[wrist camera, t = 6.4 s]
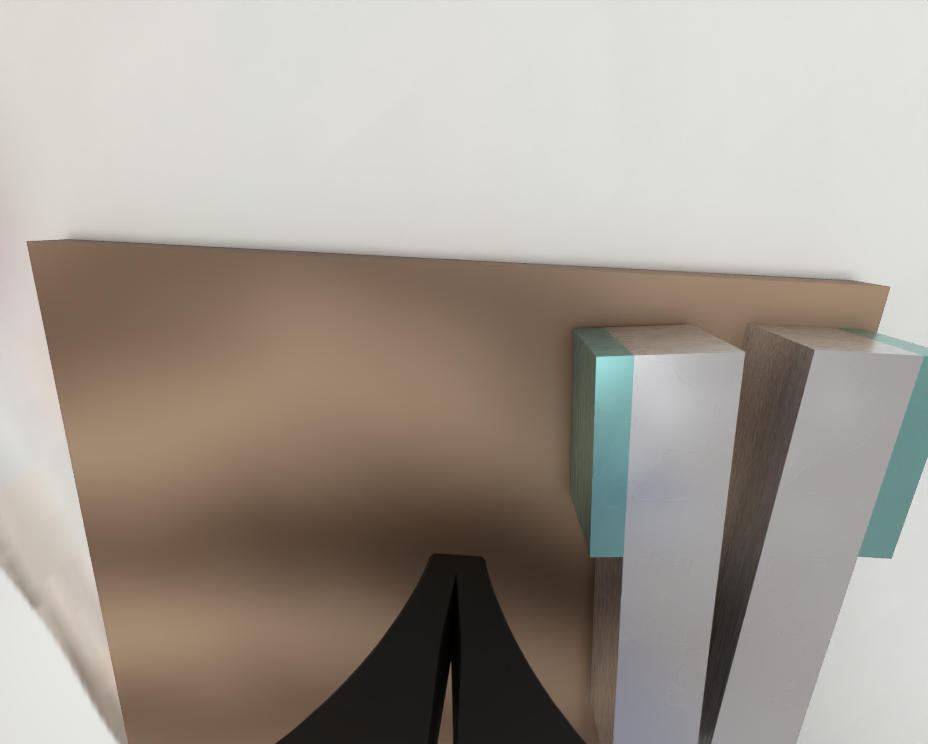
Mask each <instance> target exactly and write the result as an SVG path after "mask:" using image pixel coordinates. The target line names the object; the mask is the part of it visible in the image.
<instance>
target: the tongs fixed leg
mask: <svg viewBox="0 0 928 744" xmlns="http://www.w3.org/2000/svg"><path fill="white" fill-rule="evenodd" d="M742 350H743V351H745V358H744V366H743V374H742V382H741V391H740V399H739V407H738V415H737V424H736V432H735V440H734V448H733V457H732V465H731V473H730V481H729V489H728V498H727V506H726V514H725V522H724V531H723V539H722V547H721V555H720V564H719V572H718V580H717V588H716V597H715V605H714V613H713V621H712V629H711V638H710V646H709V654H708V662H707V671H706V679H705V687H704V695H703V704H702V712H701V720H700V728H699V736H698V744H796V741H797V738H798V735H799V732H800V729H801V726H802V723H803V720H804V717H805V714H806V711H807V708H808V705H809V702H810V699H811V696H812V693H813V690H814V687H815V684H816V681H817V678H818V675H819V672H820V669H821V666H822V663H823V660H824V657H825V654H826V651H827V648H828V645H829V642H830V639H831V636H832V633H833V630H834V627H835V624H836V621H837V618H838V615H839V612H840V609H841V606H842V603H843V600H844V596H845V593H846V590H847V587H848V584H849V581H850V578H851V575H852V572H853V569H854V566H855V563H856V560H857V557H873V558H889V559H891V558H892V556H893V553H894V550H895V547H896V544H897V542H898V539H899V536H900V533H901V530H902V527H903V525H904V522H905V519H906V516H907V513H908V511H909V508H910V505H911V502H912V499H913V496H914V494H915V491H916V488H917V485H918V482H919V480H920V477H921V474H922V471H923V468H924V465H925V463H926V460H927V457H928V348H927V347H923V346H920V345H917V344H913V343H910V342H906V341H903V340H899V339H896V338H892V337H889V336H886V335H882V334H879V333H875V332H872V331H868V330H865V329H849V328H830V327H812V326H794V325H775V324H757V323H747V327H746V331H745V336H744V340H743V345H742Z"/></svg>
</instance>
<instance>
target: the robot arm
mask: <svg viewBox="0 0 928 744" xmlns="http://www.w3.org/2000/svg"><path fill="white" fill-rule="evenodd" d="M450 664H451V679H452V726H453V744H586V742H585V741H584V740H583V739H582V738H581V737H580V735H579V734H578V733H577V732H576V730H575V729H574V728H573V726H572V725H571V724H570V722H569V721H568V720H567V719H566V717H565V716H564V715H563V713H562V712H561V711H560V710H559V708H558V707H557V706H556V704H555V703H554V702H553V700H552V699H551V697H550V696H549V694H548V693H547V691H546V690H545V688H544V687H543V685H542V684H541V683H540V681H539V679H538V678H537V676H536V675H535V673H534V671H533V670H532V668H531V667H530V665H529V663H528V661H527V660H526V658H525V656H524V654H523V653H522V651H521V649H520V647H519V645H518V643H517V641H516V640H515V638H514V636H513V634H512V632H511V630H510V628H509V625H508V623H507V621H506V619H505V617H504V614H503V612H502V610H501V607H500V605H499V603H498V600H497V598H496V595H495V592H494V590H493V587H492V584H491V581H490V578H489V574H488V570H487V566H486V560H485V559H484V558H483V557H482V556H469V555H455V554H440V553H434V554H432V555H431V556H430V557H429V560H428V563H427V565H426V567H425V570H424V572H423V574H422V576H421V578H420V580H419V582H418V584H417V585H416V587H415V589H414V591H413V592H412V594H411V596H410V597H409V599H408V601H407V602H406V604H405V606H404V607H403V609H402V610H401V612H400V613H399V615H398V616H397V618H396V619H395V621H394V622H393V623H392V625H391V626H390V628H389V629H388V631H387V632H386V633H385V635H384V636H383V637H382V639H381V640H380V641H379V643H378V644H377V645H376V646H375V648H374V649H373V650H372V651H371V653H370V654H369V655H368V656H367V657H366V659H365V660H364V661H363V662H362V663H361V664H360V666H359V667H358V668H357V669H356V670H355V671H354V672H353V673H352V674H351V675H350V676H349V677H348V679H347V680H346V681H345V682H344V683H343V684H342V685H341V686H340V687H339V688H338V689H337V690H336V691H335V692H334V693H333V694H332V695H331V696H330V697H329V698H328V699H327V700H326V701H325V702H323V703H322V704H321V705H320V706H319V707H318V708H317V709H316V710H315V711H313V712H312V713H311V714H310V715H309V716H308V717H307V718H306V719H304V720H303V721H302V722H301V723H300V724H299V725H298V726H297V727H295V728H294V729H293V730H292V731H291V732H289V733H288V734H287V735H286V736H284V737H283V738H282V739H280V740H279V741H278V742H276V743H275V744H438V738H439V732H440V726H441V720H442V713H443V707H444V701H445V695H446V689H447V683H448V677H449V671H450Z"/></svg>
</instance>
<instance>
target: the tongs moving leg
mask: <svg viewBox="0 0 928 744" xmlns="http://www.w3.org/2000/svg"><path fill="white" fill-rule="evenodd" d="M744 358H745V351H743V350H741V349H739V348H737V347H735V346H733V345H731V344H729V343H727V342H725V341H723V340H721V339H719V338H717V337H715V336H713V335H711V334H709V333H707V332H706V331H704V330H702V329H700V328H698V327H696V326H694V325H692V324H683V325H656V326H629V327H602V328H576V329H573V374H572V430H571V486H570V495H571V499H572V502H573V505H574V508H575V511H576V515H577V518H578V521H579V524H580V527H581V530H582V534H583V537H584V540H585V543H586V546H587V550H588V553H589V556H590V557H595V582H594V610H593V638H592V666H591V694H590V699H591V704H592V708H593V713H594V717H595V722H596V726H597V731H598V735H599V740H600V744H698V736H699V728H700V720H701V712H702V704H703V695H704V687H705V679H706V671H707V662H708V654H709V646H710V638H711V629H712V621H713V613H714V605H715V597H716V588H717V580H718V572H719V564H720V555H721V547H722V539H723V531H724V522H725V514H726V506H727V498H728V489H729V481H730V473H731V465H732V457H733V448H734V440H735V432H736V424H737V415H738V407H739V399H740V391H741V382H742V374H743V366H744Z"/></svg>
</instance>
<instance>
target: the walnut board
mask: <svg viewBox="0 0 928 744" xmlns="http://www.w3.org/2000/svg"><path fill="white" fill-rule="evenodd" d="M27 246H28V251H29V256H30V261H31V266H32V271H33V276H34V281H35V286H36V291H37V295H38V300H39V305H40V310H41V315H42V320H43V325H44V330H45V335H46V340H47V345H48V350H49V355H50V360H51V365H52V369H53V374H54V379H55V384H56V389H57V394H58V399H59V404H60V409H61V414H62V419H63V424H64V429H65V434H66V438H67V443H68V448H69V453H70V458H71V463H72V468H73V473H74V478H75V483H76V488H77V493H78V498H79V503H80V507H81V512H82V517H83V522H84V527H85V532H86V537H87V542H88V547H89V552H90V557H91V562H92V567H93V572H94V577H95V581H96V586H97V591H98V596H99V601H100V606H101V611H102V616H103V621H104V626H105V631H106V636H107V641H108V646H109V650H110V655H111V660H112V665H113V670H114V675H115V680H116V685H117V690H118V695H119V700H120V705H121V710H122V715H123V719H124V724H125V729H126V734H127V739H128V744H275V743H276V742H278V741H279V740H280V739H282V738H283V737H284V736H286V735H287V734H288V733H289V732H291V731H292V730H293V729H294V728H295V727H297V726H298V725H299V724H300V723H301V722H302V721H303V720H304V719H306V718H307V717H308V716H309V715H310V714H311V713H312V712H313V711H315V710H316V709H317V708H318V707H319V706H320V705H321V704H322V703H323V702H325V701H326V700H327V699H328V698H329V697H330V696H331V695H332V694H333V693H334V692H335V691H336V690H337V689H338V688H339V687H340V686H341V685H342V684H343V683H344V682H345V681H346V680H347V679H348V677H349V676H350V675H351V674H352V673H353V672H354V671H355V670H356V669H357V668H358V667H359V666H360V664H361V663H362V662H363V661H364V660H365V659H366V657H367V656H368V655H369V654H370V653H371V651H372V650H373V649H374V648H375V646H376V645H377V644H378V643H379V641H380V640H381V639H382V637H383V636H384V635H385V633H386V632H387V631H388V629H389V628H390V626H391V625H392V623H393V622H394V621H395V619H396V618H397V616H398V615H399V613H400V612H401V610H402V609H403V607H404V606H405V604H406V602H407V601H408V599H409V597H410V596H411V594H412V592H413V591H414V589H415V587H416V585H417V584H418V582H419V580H420V578H421V576H422V574H423V572H424V570H425V567H426V565H427V563H428V560H429V557H430V556H431V555H432V554H434V553H440V554H455V555H469V556H482V557H483V558H484V559H485V560H486V566H487V570H488V574H489V578H490V581H491V584H492V587H493V590H494V592H495V595H496V598H497V600H498V603H499V605H500V607H501V610H502V612H503V614H504V617H505V619H506V621H507V623H508V625H509V628H510V630H511V632H512V634H513V636H514V638H515V640H516V641H517V643H518V645H519V647H520V649H521V651H522V653H523V654H524V656H525V658H526V660H527V661H528V663H529V665H530V667H531V668H532V670H533V671H534V673H535V675H536V676H537V678H538V679H539V681H540V683H541V684H542V685H543V687H544V688H545V690H546V691H547V693H548V694H549V696H550V697H551V699H552V700H553V702H554V703H555V704H556V706H557V707H558V708H559V710H560V711H561V712H562V713H563V715H564V716H565V717H566V719H567V720H568V721H569V722H570V724H571V725H572V726H573V728H574V729H575V730H576V732H577V733H578V734H579V735H580V737H581V738H582V739H583V740H584V741H585V742H586V744H600V740H599V735H598V731H597V726H596V722H595V717H594V713H593V708H592V704H591V699H590V694H591V666H592V638H593V610H594V582H595V557H590V556H589V553H588V550H587V546H586V543H585V540H584V537H583V534H582V530H581V527H580V524H579V521H578V518H577V515H576V511H575V508H574V505H573V502H572V499H571V495H570V486H571V430H572V374H573V329H576V328H602V327H629V326H656V325H683V324H692V325H694V326H696V327H698V328H700V329H702V330H704V331H706V332H707V333H709V334H711V335H713V336H715V337H717V338H719V339H721V340H723V341H725V342H727V343H729V344H731V345H733V346H735V347H737V348H739V349H741V350H742V345H743V340H744V336H745V331H746V327H747V323H757V324H775V325H794V326H812V327H830V328H849V329H865V330H868V331H872V332H875V333H877V330H878V327H879V324H880V320H881V317H882V314H883V310H884V307H885V303H886V300H887V297H888V293H889V290H890V287H888V286H882V285H876V284H870V283H864V282H858V281H851V280H832V279H813V278H794V277H775V276H756V275H737V274H718V273H699V272H679V271H660V270H641V269H622V268H603V267H584V266H565V265H546V264H527V263H508V262H489V261H470V260H451V259H432V258H413V257H394V256H375V255H356V254H336V253H317V252H298V251H279V250H260V249H241V248H222V247H203V246H184V245H165V244H146V243H127V242H108V241H89V240H70V239H64V240H44V241H27ZM438 744H453V726H452V679H451V664H450V671H449V677H448V683H447V689H446V695H445V701H444V707H443V713H442V720H441V726H440V732H439V738H438Z"/></svg>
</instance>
